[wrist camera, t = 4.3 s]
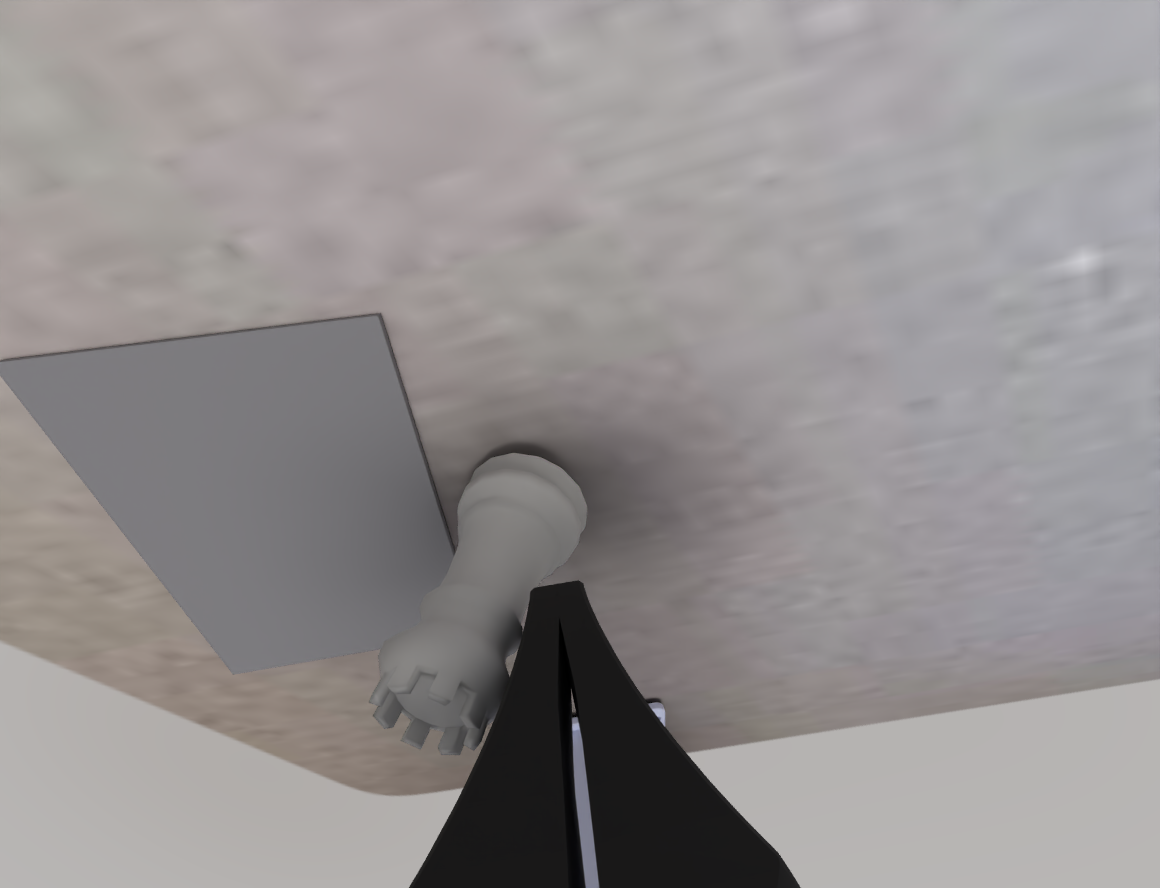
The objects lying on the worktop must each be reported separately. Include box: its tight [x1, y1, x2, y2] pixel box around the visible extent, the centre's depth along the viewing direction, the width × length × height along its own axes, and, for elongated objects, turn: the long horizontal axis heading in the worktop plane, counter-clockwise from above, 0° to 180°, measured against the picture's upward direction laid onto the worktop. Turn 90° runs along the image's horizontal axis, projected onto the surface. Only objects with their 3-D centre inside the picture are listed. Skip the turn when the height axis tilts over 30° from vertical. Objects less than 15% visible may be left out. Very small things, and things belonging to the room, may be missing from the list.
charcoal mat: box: [0, 313, 455, 674], centre depth 16 cm, size 14×10×1 cm
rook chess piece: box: [369, 453, 587, 755], centre depth 13 cm, size 4×4×8 cm
